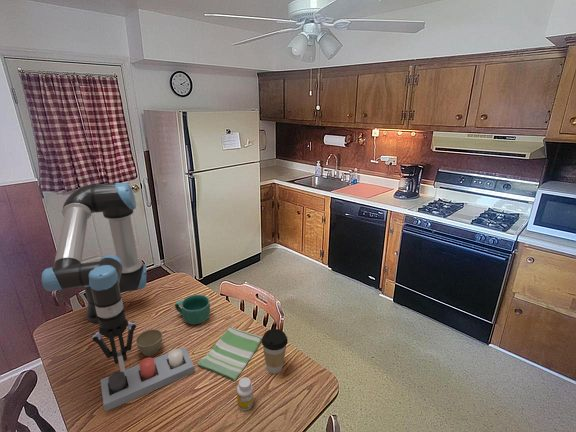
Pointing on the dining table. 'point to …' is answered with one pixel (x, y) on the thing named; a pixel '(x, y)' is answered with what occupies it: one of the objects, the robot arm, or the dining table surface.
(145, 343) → the flower pot
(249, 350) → the dish towel
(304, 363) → the dining table surface
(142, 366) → the button red
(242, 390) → the supplement bottle
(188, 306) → the mug
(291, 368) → the dining table surface
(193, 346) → the dining table surface
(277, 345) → the coffee cup
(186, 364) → the panel
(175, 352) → the button ivory
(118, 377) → the button black
